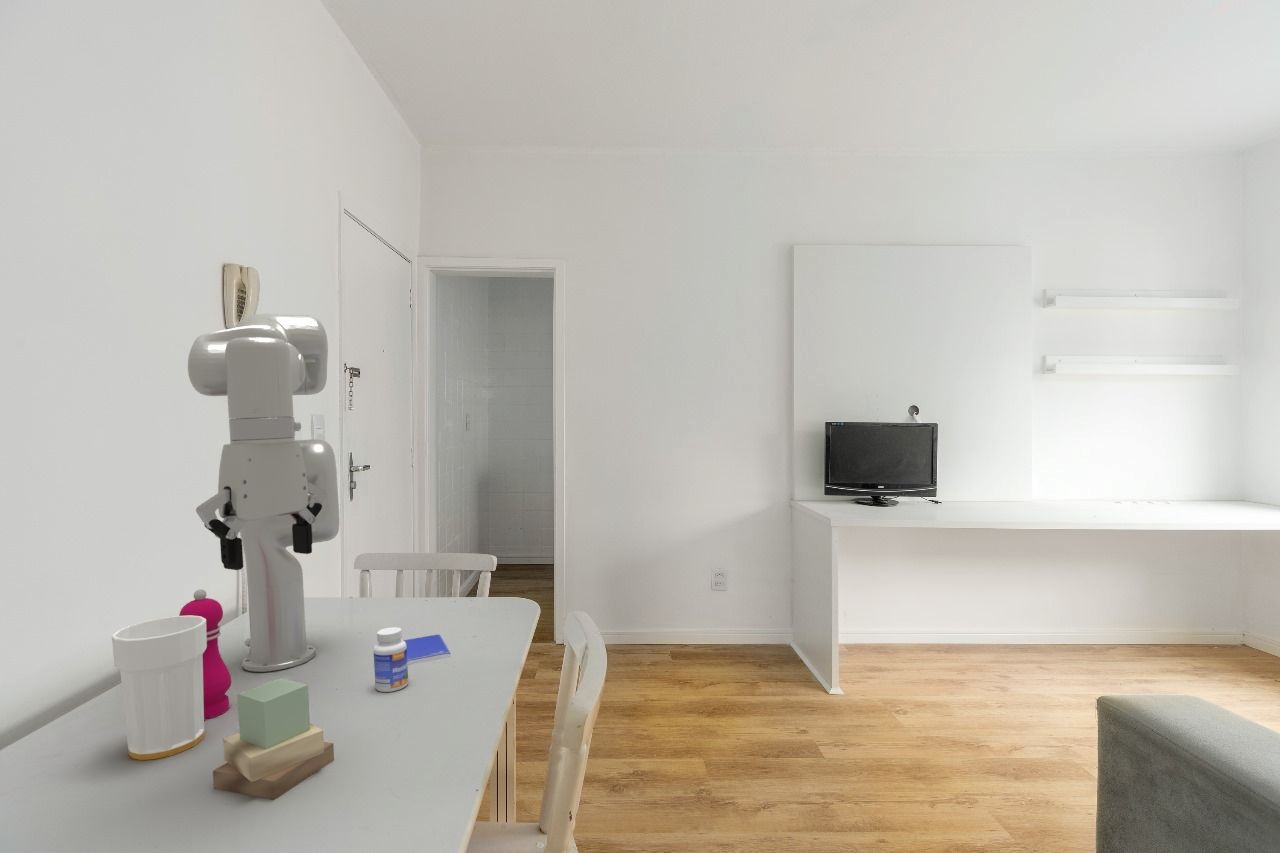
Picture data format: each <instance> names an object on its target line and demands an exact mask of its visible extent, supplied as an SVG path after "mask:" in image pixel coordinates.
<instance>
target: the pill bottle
mask: <svg viewBox="0 0 1280 853" xmlns="http://www.w3.org/2000/svg"><path fill="white" fill-rule="evenodd" d="M402 634H403V633H402V628H400V627H394V626H393V627H385V628H382V629H379V630H378V631H377V632H376V640H377V643H376V644H375V645H374V647H373V667H374V686H375V689H376V691H379V692H380V693H381V692H383V693H390V692H396V691H399V690H402V689H404V688H406V687H407V686H408V684H409V669H408V668H409V667H408V666H409V665H407V646H406V642H405V641H403V639H402V637H403V635H402Z"/></svg>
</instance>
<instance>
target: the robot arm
mask: <svg viewBox="0 0 1280 853" xmlns="http://www.w3.org/2000/svg"><path fill="white" fill-rule="evenodd" d="M328 346H329V343H328V336H327V332H326V329H325V327H324V325H323V324H322V323H321V321H320V320H319V319H318V318H316V317H315V316H313V315H308V314H280V313H279V314H274V313H273V314H271V313H270V314H269V313H261V314H259V313H257V314H251V315H248V316H246V317H245V316H244V318H242V319H241V320H239V322H237V324H236V325H235V327H231V328H228V329H222V330H215V331H211V332H207V333H204V334H203V333H202V334H200V335H199V336H197V338H196V339H195V340H194V341H193V344H192V346H191V348H190V349H189V350H190V351H189V353H188V359H187V374H188V378H189V381H190V384H191V386H192V387H193V389H194V390H195V391H197V392H198V393H199V394H200V395H203V396H207V397H226V396H227V409H228V412H227V413H228V423H229V424H228V425H229V426H228V428H229V429H228V430H229V444H223V446H222V450H221V454H220V456H221V457H220V462H219V469H218V483H217V484H218V486H217V488H218V489H217V493H216V494H214V495H213V496H212V497H210V498H208V499H207V500H205V501H204V502H202V503H200V505H198V506H197V507H196V508H195V512H196V515H198V517H199V519H200V520H201V522H203V525H204V527H205V528H206V529H207V530H208V531H210V532H212V533H213V534H214V537H215V538H217V539H219V544H220V561H221V563H222V564H223V568H224V569H225V570H232V571H238V570H239V571H240V570H242V569H243V568H244V561H245V569H246V582H247V583H246V584H247V598H248V600H247V602H248V614H249V616H248V617H249V631H250V632H249V633H250V635H249V636H250V637H249V638H247V639H245V640H244V646H246V647H249V652H250V654H248V655H246V656H245V657H244V659H242V668H243V669H244V670H245V671H249V672H254V673H255V672H256V673H260V672H262V673H263V672H264V673H265V672H275V671H281V670H285V669H289V668H293V667H296V666H300V665H302V664H304V663H306V662H308V661H310V660H311V659H312V658H314V656H316V647H315V646H314V645H312V644H309V643H307V632H306V630H307V629H306V614H305V613H306V612H305V611H306V610H305V597H304V596H305V595H304V594H305V593H304V592H305V591H304V576H303V575H304V574H303V568H302V565H301V563H300V561H299V560H298V559H297V558H296V556H294V555H293V554H292V553H291V552H290V551H288V549H286V548H288V547H292V550H293V553H296V554H305V555H309V554H311V553H313V544H315V543H316V544H317V543H323V542H328V541H331V540H333V539H335V538H336V536H338V534H339V530H340V507H339V504H340V503H339V490H338V488H339V487H338V476H337V475H338V474H337V473H338V472H337V464H336V463H337V462H336V456H335V452H334V449H333V447H332V446H331V444H330V443H329V442H327V441H325V440H322V439H299V440H297V439H295V437H296V432H300V431H301V429H302V424H301V422H300V421H295V417H294V403H293V402H294V401H293V396H308V395H309V396H311V395H316V394H319V393H321V392H322V391H323V390H324V389H325V387H326V385H327V378H328V356H329V355H328V354H329V347H328ZM217 510H218V514H219V517H220V518H222V519H223V520H222V521H221V520H220V519H218V516H217V515H216V511H217ZM239 534H240V537H238V535H239ZM243 552H244V555H243ZM244 559H245V560H244Z"/></svg>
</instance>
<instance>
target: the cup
mask: <svg viewBox="0 0 1280 853" xmlns="http://www.w3.org/2000/svg"><path fill="white" fill-rule="evenodd" d="M111 643H112V644H111V645H112V652H113V654H112V655H113V662H114V666H115V667H116V668H117V669H118V670H119V671H120V672H119V674H120V681H121V682H120V683H121V690H122V691H121V692H122V693H121V694H122V701H123V702H122V703H123V710H124V721H125V730H126V740H127V741H126V742H127V750H128V755H129V757H130V758H132V759H135V760H139V761H146V760H147V761H148V760H156V759H161V758H168V757H171V756H173V755H177V754H180V753H182V752H184V751H187V750H188V749H191V748H193V747H195V746H196V745H197V744H200V742H201V741H202V740H203V738H204V736H205V719H204V700H203V653H204V651H205V650H206V648H207V633H206V619H205V618H203V617H201V616H193V615H187V616H179V615H173V616H168V617H167V616H166V617H159V618H155V619H150V620H144V621H141V622H137V623H135V624H134V623H133V624H130V625H128V626H125V627H123V628H121V629H119V630H116V631H115V632H114V633H113V634H112V635H111Z"/></svg>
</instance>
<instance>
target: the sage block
mask: <svg viewBox="0 0 1280 853" xmlns="http://www.w3.org/2000/svg"><path fill="white" fill-rule="evenodd" d="M308 686H309V685H308V684H304V683H301V682H298V681H294V680H291V679H288V678H284V677H280V678H276V679H274V680H271V681H268V682H266V683H263V684H260V685H258V686H254V687H252V688H249V689H247V690H244V691H242V692H239V693H238V692H237V696H236V697H237V711H238V729H239V732H240V739H241V740H243V741H246V742H248V743H251V744H254V745H256V746H259V747H262V748H264V749H268V748H270V747H273V746H275V745H277V744H279V743H282V742H284V741H286V740H288V739H290V738H293V737H295V736H297V735H299V734H301V733H304V732H306V731H308V730H310V723H311V721H310V719H311V718H310V703H309V687H308Z"/></svg>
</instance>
